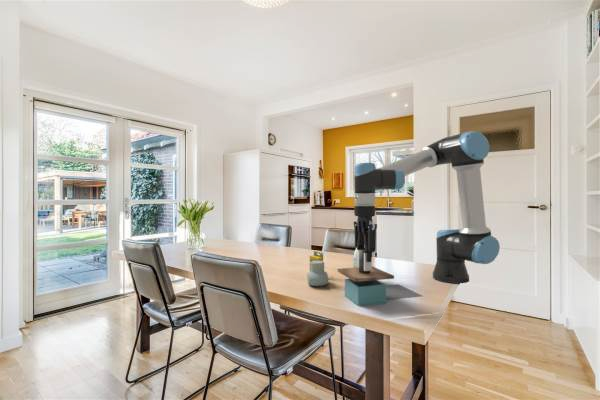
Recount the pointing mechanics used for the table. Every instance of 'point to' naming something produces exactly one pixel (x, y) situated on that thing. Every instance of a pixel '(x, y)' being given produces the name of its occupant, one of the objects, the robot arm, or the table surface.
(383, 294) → the teal storage bin
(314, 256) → the crayon box
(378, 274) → the lid
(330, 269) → the table surface
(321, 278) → the air freshener
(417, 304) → the table surface
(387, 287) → the mat
